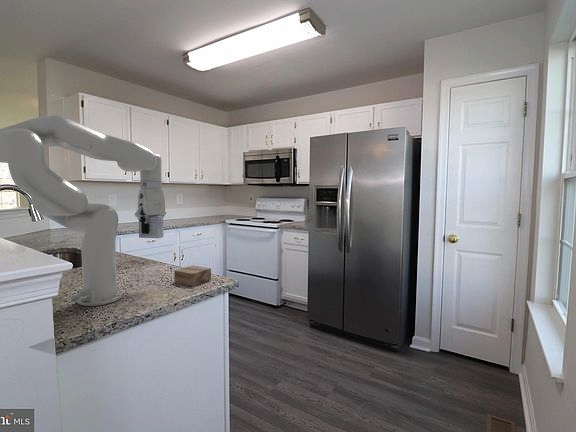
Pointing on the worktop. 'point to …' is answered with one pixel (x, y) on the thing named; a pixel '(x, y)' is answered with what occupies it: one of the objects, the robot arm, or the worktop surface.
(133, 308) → the worktop surface
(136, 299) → the worktop surface
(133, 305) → the worktop surface
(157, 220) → the medicine box
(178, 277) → the walnut block
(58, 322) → the worktop surface
